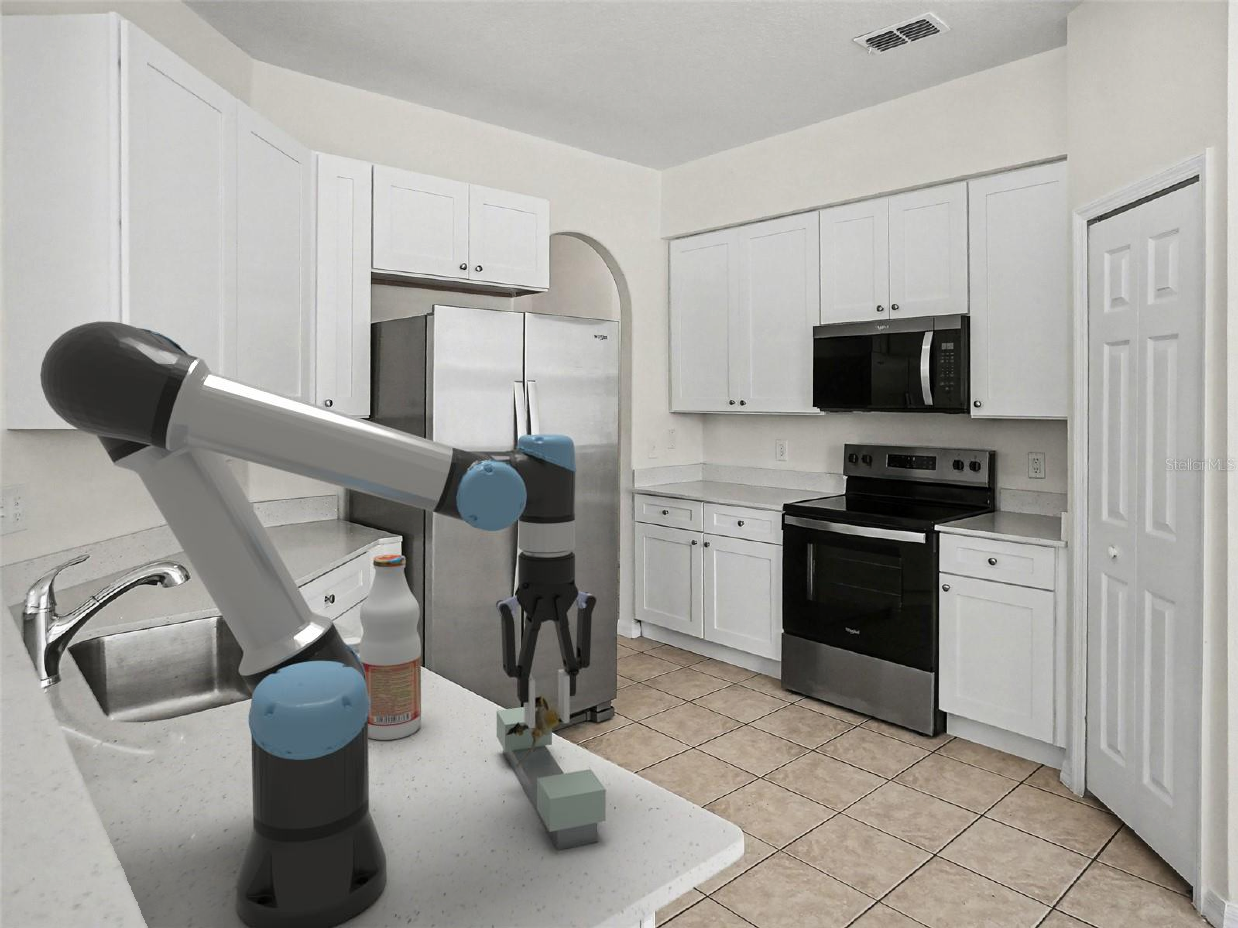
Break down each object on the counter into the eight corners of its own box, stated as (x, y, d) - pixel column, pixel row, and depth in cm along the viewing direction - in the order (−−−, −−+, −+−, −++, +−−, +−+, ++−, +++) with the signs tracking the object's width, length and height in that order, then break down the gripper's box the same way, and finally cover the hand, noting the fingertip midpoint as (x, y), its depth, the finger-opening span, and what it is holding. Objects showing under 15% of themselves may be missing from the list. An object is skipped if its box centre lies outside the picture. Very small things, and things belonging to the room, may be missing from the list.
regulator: (545, 774, 99) (569, 709, 114) (533, 748, 98) (559, 685, 113) (492, 787, 101) (522, 721, 115) (480, 761, 100) (512, 697, 114)
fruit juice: (393, 746, 121) (391, 565, 119) (347, 733, 126) (344, 559, 123) (433, 724, 130) (432, 555, 127) (389, 713, 134) (387, 549, 132)
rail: (557, 850, 94) (557, 830, 94) (503, 751, 120) (503, 735, 120) (597, 842, 96) (597, 822, 96) (535, 746, 122) (535, 730, 122)
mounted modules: (549, 831, 94) (550, 799, 93) (496, 736, 120) (496, 710, 119) (605, 820, 96) (605, 789, 96) (541, 729, 122) (541, 704, 122)
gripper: (597, 542, 112) (597, 703, 114) (476, 550, 106) (478, 720, 108) (617, 552, 105) (616, 723, 107) (488, 561, 99) (490, 742, 101)
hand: (546, 721), depth 107 cm, fingers closed on regulator, 4 cm apart
